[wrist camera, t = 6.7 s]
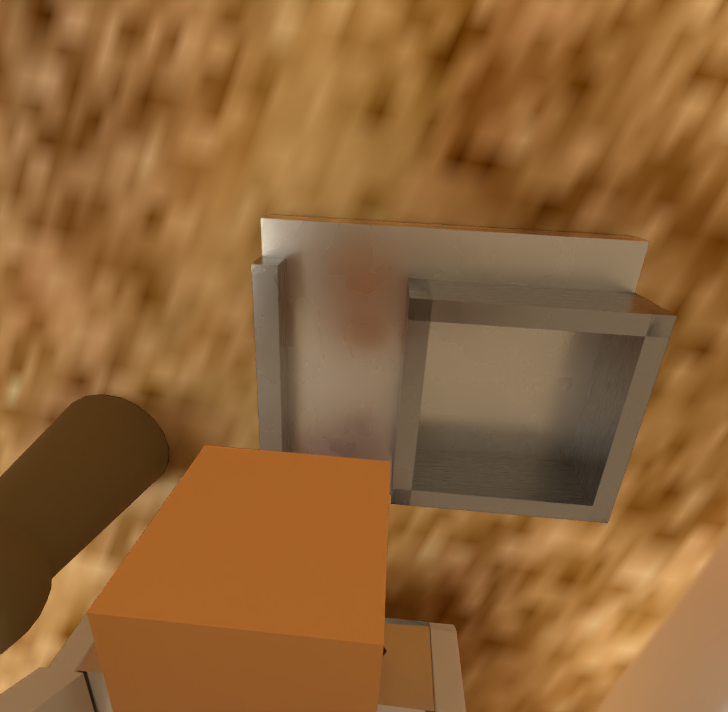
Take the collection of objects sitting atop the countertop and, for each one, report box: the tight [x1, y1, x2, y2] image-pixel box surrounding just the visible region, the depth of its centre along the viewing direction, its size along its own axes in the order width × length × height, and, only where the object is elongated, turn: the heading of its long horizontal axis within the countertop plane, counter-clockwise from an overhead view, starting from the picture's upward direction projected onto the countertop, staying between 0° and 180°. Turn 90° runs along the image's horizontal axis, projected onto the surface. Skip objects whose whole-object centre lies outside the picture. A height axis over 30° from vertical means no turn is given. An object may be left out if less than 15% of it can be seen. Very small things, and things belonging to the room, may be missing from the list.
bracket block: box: [87, 445, 391, 712], centre depth 9 cm, size 4×6×4 cm, turn 177°
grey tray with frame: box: [251, 214, 677, 523], centre depth 20 cm, size 15×13×4 cm
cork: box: [0, 395, 168, 654], centre depth 20 cm, size 6×6×11 cm
